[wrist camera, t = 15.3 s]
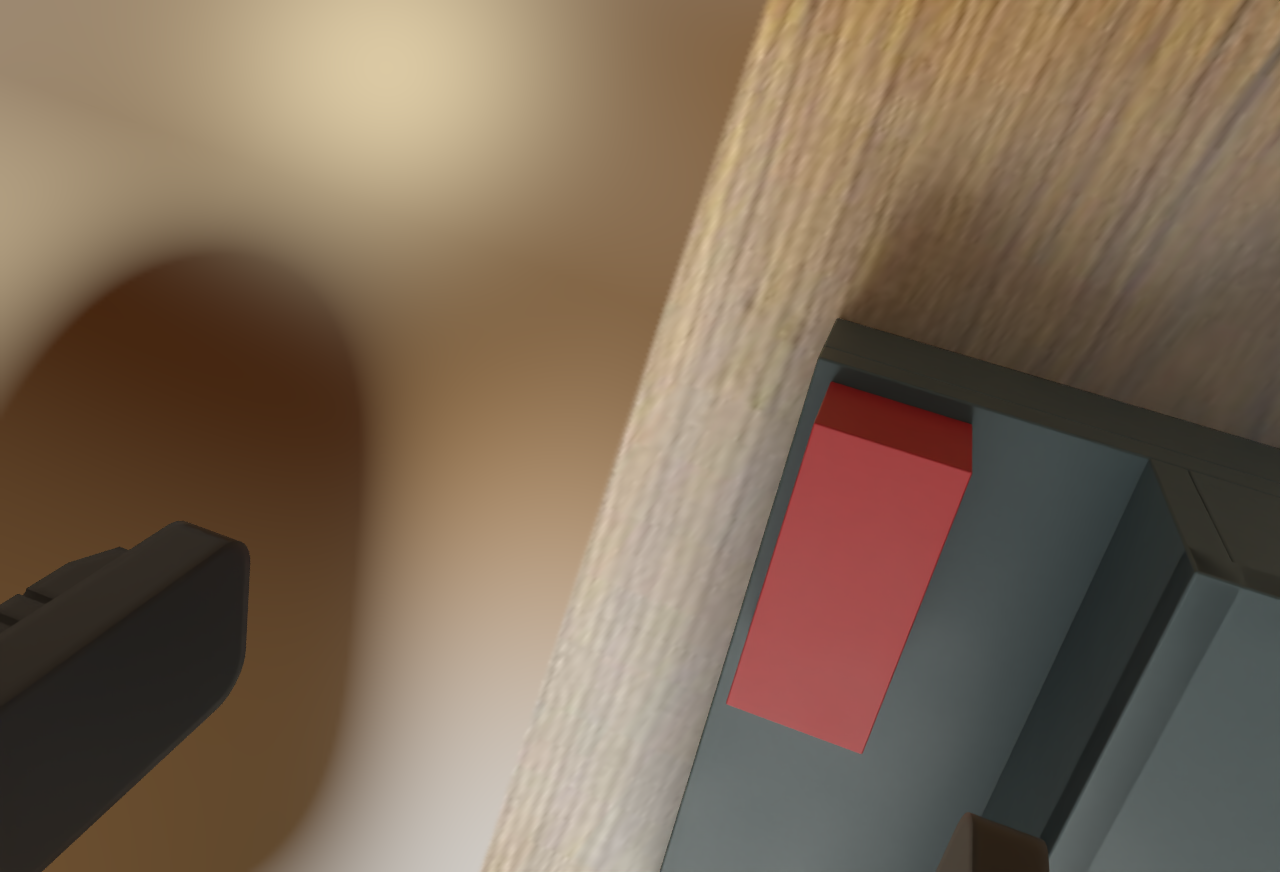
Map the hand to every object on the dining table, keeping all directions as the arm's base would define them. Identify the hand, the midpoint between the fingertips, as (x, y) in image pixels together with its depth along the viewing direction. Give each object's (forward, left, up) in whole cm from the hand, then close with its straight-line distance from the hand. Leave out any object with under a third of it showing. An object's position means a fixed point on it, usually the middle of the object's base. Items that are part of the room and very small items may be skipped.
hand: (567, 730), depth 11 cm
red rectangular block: (+7, -2, -20) cm, 21 cm away
